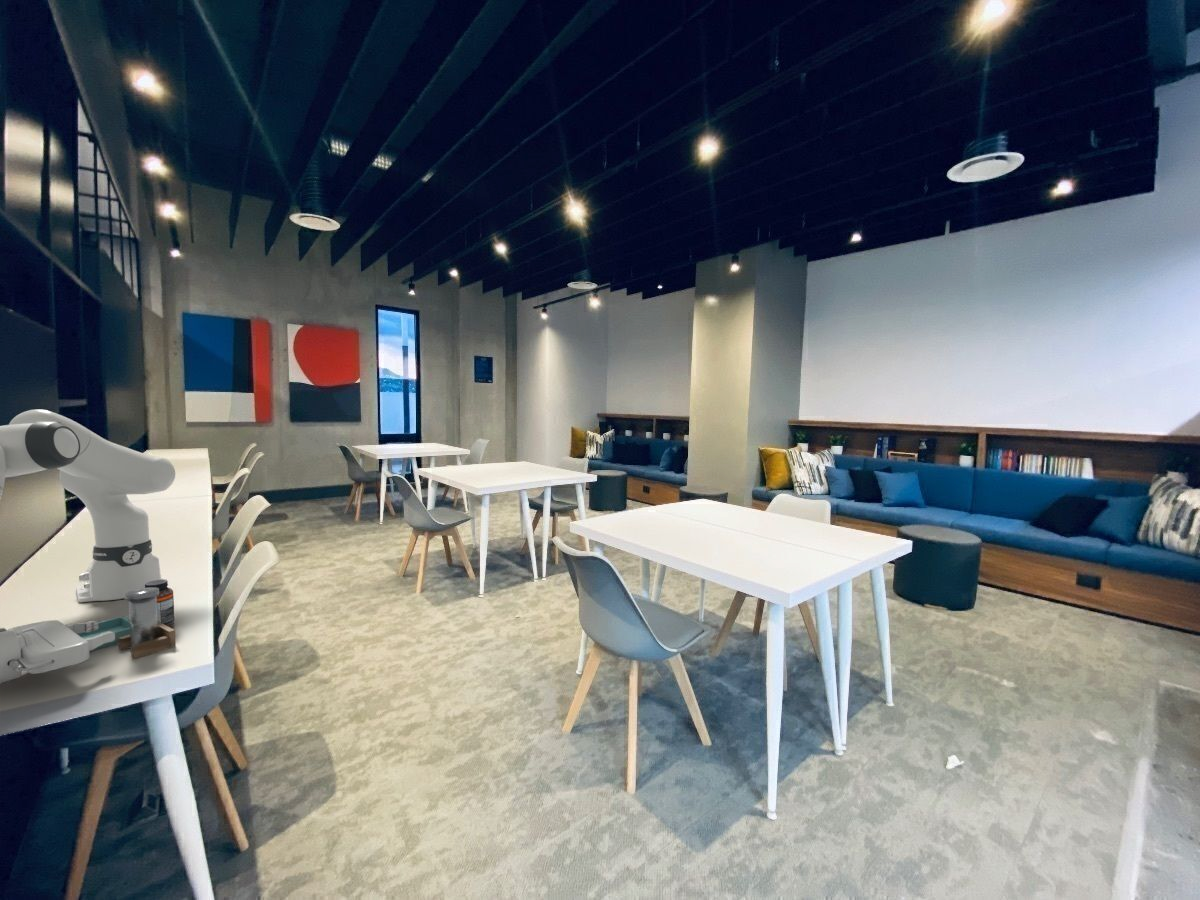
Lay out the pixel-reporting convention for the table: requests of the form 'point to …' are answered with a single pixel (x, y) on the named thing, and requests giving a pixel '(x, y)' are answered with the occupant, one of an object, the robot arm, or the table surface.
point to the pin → (143, 614)
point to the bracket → (150, 642)
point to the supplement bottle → (163, 602)
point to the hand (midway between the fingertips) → (105, 629)
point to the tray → (115, 625)
